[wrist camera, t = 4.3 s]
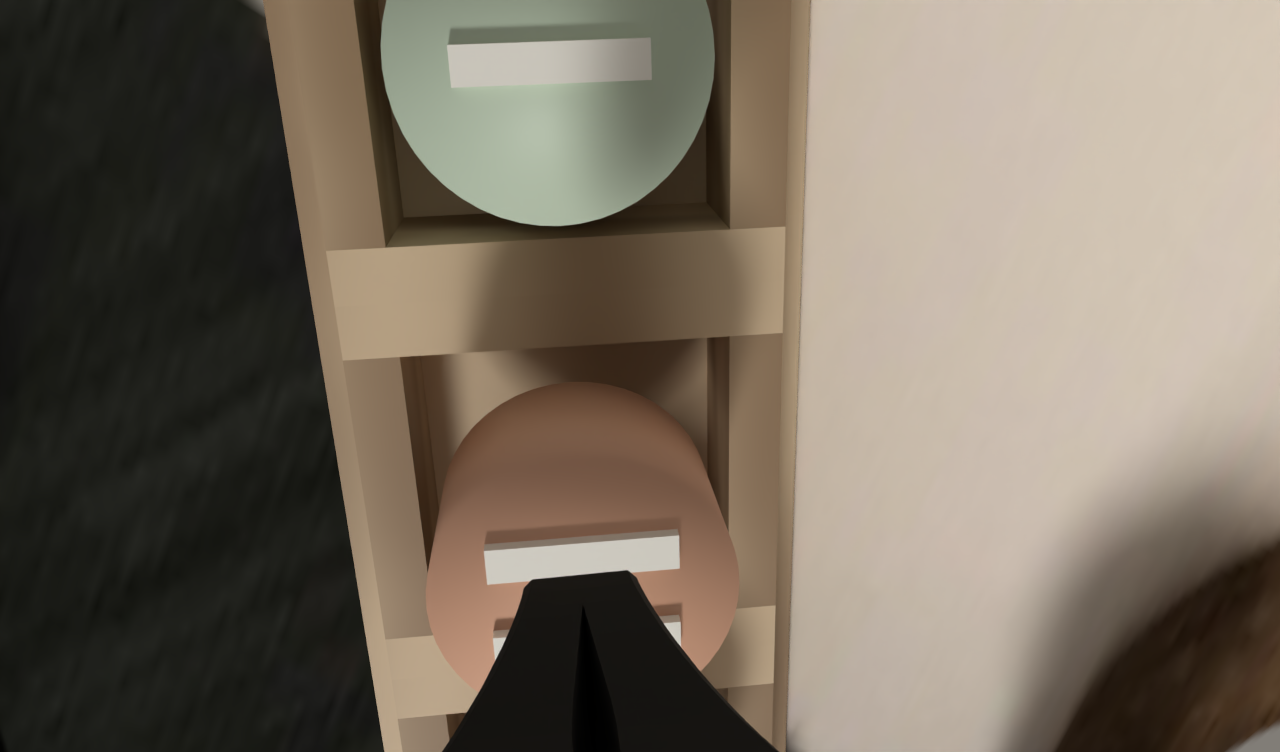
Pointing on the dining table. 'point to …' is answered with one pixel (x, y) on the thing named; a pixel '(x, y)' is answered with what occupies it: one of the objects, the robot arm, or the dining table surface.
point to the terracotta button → (577, 520)
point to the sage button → (549, 98)
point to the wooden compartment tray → (550, 327)
